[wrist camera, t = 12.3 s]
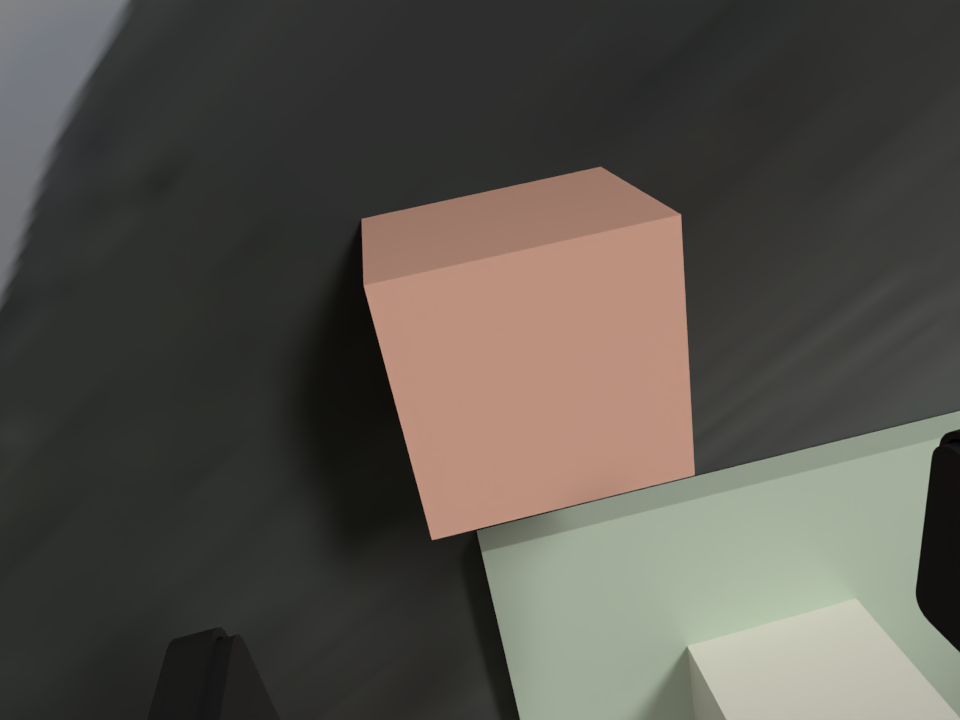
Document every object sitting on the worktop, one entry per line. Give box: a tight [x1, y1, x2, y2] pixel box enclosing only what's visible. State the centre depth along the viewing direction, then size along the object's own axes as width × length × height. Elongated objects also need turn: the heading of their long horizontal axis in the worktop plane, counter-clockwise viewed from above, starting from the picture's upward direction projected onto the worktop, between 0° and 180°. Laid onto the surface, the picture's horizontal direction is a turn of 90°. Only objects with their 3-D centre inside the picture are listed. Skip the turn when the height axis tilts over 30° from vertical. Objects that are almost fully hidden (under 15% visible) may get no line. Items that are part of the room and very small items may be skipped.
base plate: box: [477, 411, 960, 720], centre depth 26 cm, size 18×18×1 cm
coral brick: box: [362, 167, 695, 540], centre depth 17 cm, size 6×6×5 cm
